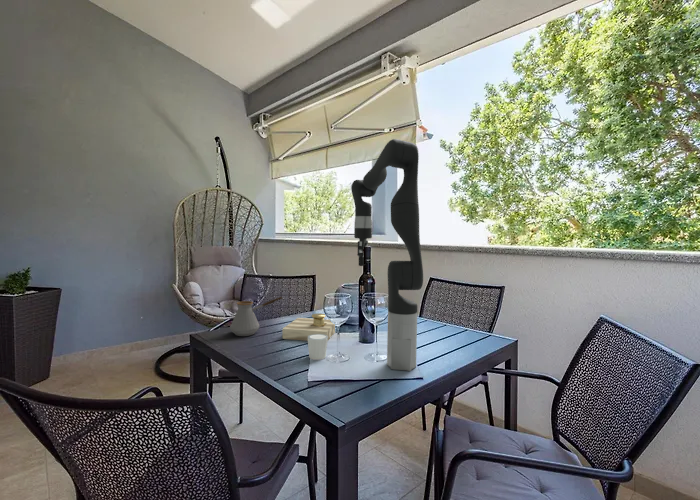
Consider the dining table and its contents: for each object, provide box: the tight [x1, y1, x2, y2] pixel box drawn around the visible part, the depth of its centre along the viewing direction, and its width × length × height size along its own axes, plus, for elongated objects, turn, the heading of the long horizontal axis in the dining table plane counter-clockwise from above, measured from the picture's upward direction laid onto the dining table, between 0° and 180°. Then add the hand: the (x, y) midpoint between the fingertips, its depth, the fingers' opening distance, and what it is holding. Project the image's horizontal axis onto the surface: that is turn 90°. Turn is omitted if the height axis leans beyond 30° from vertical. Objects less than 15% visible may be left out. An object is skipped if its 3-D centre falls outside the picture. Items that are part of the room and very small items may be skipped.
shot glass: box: [307, 334, 329, 361], centre depth 117 cm, size 7×7×7 cm
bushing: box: [311, 312, 327, 327], centre depth 143 cm, size 6×6×8 cm
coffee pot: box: [229, 296, 284, 337], centre depth 144 cm, size 21×12×15 cm, turn 100°
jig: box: [282, 317, 336, 342], centre depth 144 cm, size 18×18×4 cm
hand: (362, 265), depth 150 cm, fingers open, 8 cm apart
